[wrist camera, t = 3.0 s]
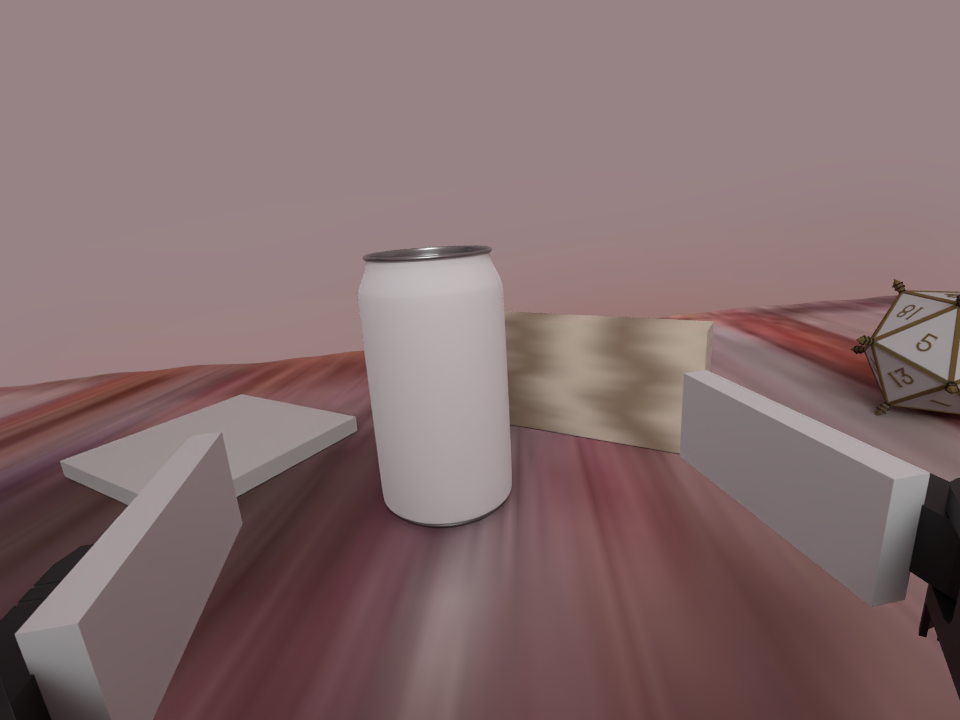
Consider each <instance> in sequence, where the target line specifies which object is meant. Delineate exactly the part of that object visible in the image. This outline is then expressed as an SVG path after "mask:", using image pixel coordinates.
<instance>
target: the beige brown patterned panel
mask: <svg viewBox="0 0 960 720" xmlns="http://www.w3.org/2000/svg"><path fill="white" fill-rule="evenodd" d="M504 316H505V335H506V355H507V376H508V397H509V418H510V424H511V425H517V426H522V427H528V428H534V429H540V430H546V431H551V432H557V433H563V434H569V435H575V436H580V437H586V438H592V439H598V440H604V441H609V442H615V443H621V444H627V445H632V446H638V447H644V448H650V449H656V450H661V451H667V452H673V453H679V454H680V438H681V418H682V397H683V377H684V373H689V372H697V371H705V370H707V371H710V364H711V350H712V335H713V322H712V321H691V320H671V319H650V318H630V317H608V316H588V315H567V314H546V313H526V312H506V311H504Z"/></svg>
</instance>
